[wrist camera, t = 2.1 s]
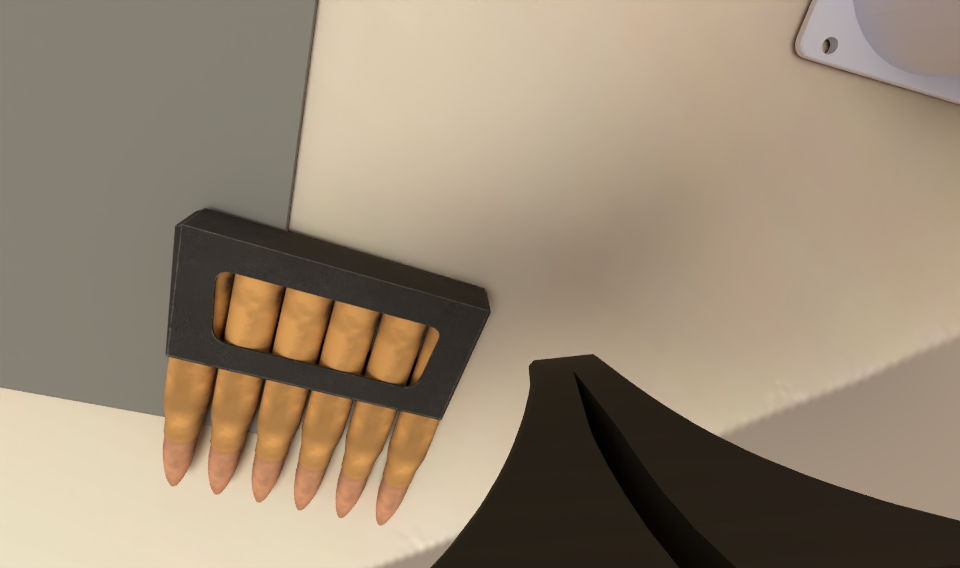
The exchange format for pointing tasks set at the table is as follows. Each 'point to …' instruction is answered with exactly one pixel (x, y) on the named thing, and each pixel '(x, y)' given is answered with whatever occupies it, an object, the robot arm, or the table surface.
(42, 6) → the mat
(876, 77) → the robot arm
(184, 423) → the ammunition clip
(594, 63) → the table surface
